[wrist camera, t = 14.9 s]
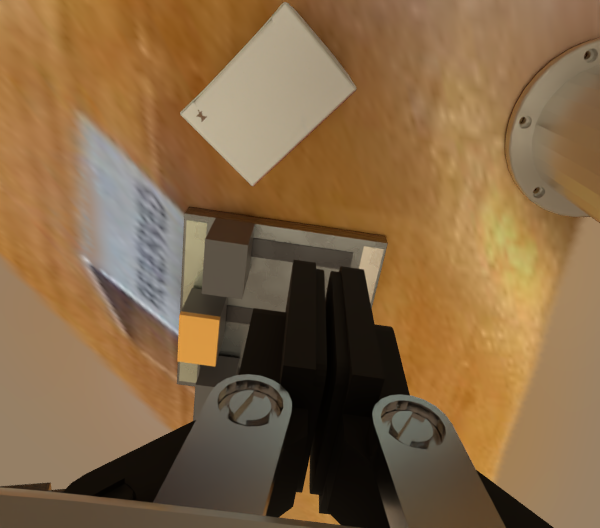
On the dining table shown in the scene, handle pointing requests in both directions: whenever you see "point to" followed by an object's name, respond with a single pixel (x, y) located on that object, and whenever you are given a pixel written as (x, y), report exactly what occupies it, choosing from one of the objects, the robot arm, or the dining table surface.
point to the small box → (270, 95)
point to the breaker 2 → (213, 379)
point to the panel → (272, 268)
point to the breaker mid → (201, 328)
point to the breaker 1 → (227, 258)
